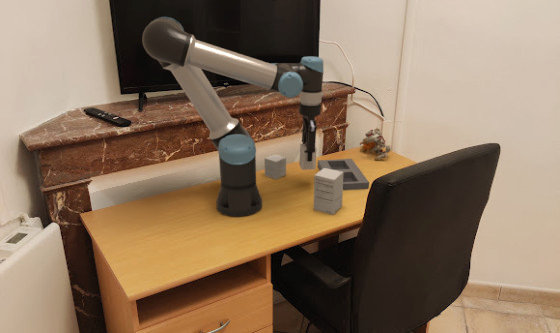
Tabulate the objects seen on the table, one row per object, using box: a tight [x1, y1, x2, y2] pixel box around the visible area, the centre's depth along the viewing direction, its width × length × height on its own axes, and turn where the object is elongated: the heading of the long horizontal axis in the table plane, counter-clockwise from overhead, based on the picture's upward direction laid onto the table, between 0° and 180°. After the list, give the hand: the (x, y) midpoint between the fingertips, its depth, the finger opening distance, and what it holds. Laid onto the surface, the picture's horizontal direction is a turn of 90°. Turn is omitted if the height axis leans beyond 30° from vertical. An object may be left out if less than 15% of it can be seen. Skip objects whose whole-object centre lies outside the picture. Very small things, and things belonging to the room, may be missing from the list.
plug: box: [298, 142, 317, 171], centre depth 168 cm, size 5×5×9 cm
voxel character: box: [359, 127, 391, 161], centre depth 198 cm, size 11×10×15 cm
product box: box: [264, 153, 287, 180], centre depth 180 cm, size 6×6×7 cm
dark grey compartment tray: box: [317, 158, 370, 191], centre depth 179 cm, size 14×24×2 cm, turn 7°
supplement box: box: [313, 168, 344, 215], centre depth 153 cm, size 7×7×13 cm
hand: (307, 165), depth 169 cm, fingers closed on plug, 5 cm apart
